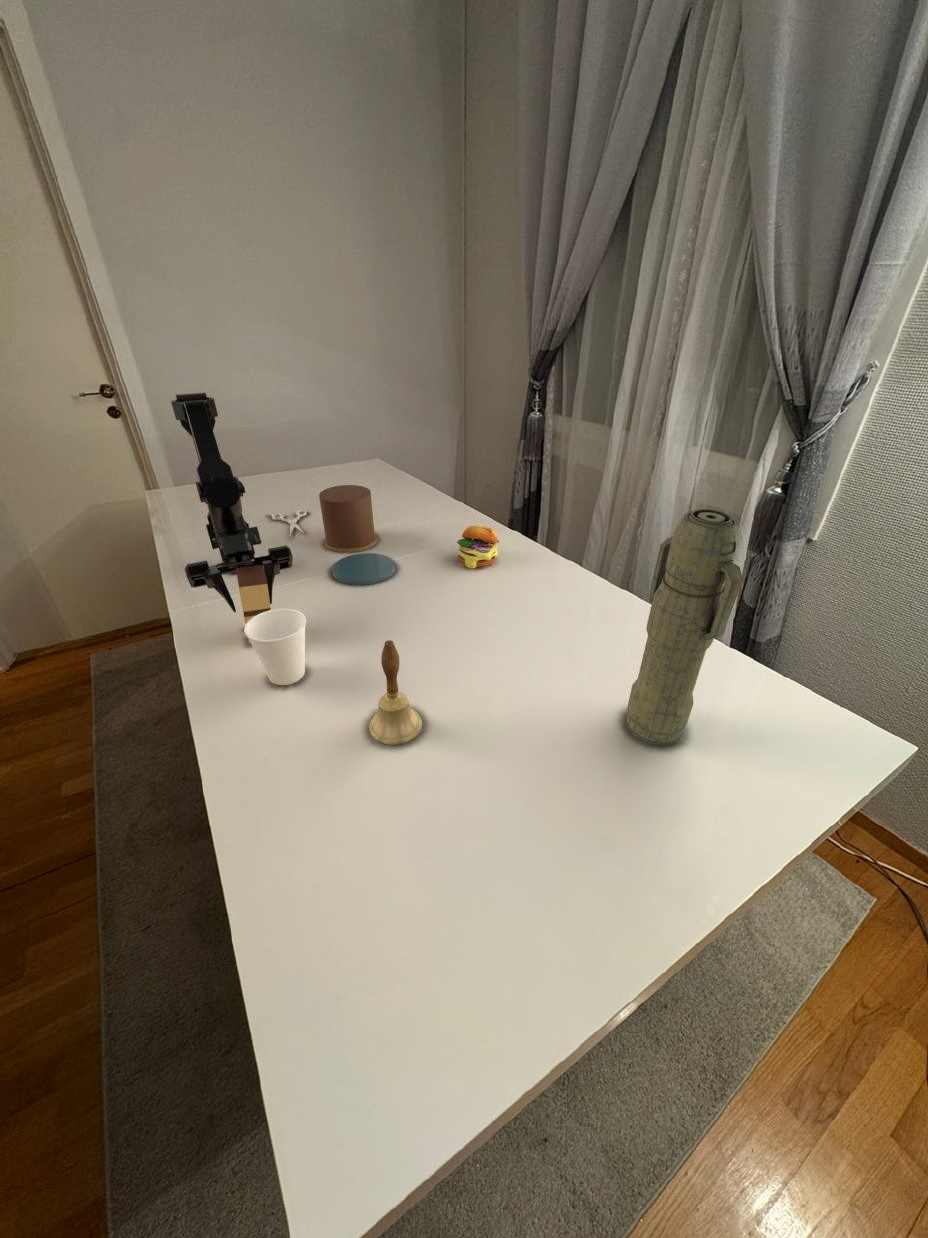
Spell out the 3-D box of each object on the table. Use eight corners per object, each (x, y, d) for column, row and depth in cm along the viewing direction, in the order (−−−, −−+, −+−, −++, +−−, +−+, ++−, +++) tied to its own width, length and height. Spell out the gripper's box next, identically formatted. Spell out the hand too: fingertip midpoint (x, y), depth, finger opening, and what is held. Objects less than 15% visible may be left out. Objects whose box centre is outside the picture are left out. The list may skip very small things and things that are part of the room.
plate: (319, 573, 125) (318, 569, 124) (364, 551, 135) (363, 547, 134) (364, 591, 117) (363, 587, 117) (407, 567, 128) (407, 563, 127)
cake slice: (245, 627, 104) (235, 567, 97) (270, 623, 106) (262, 564, 99) (248, 643, 100) (238, 582, 92) (275, 639, 102) (266, 579, 94)
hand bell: (374, 707, 85) (364, 626, 77) (424, 708, 85) (420, 627, 76) (364, 744, 78) (352, 660, 70) (419, 746, 78) (414, 662, 69)
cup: (263, 700, 86) (248, 647, 80) (253, 668, 94) (239, 616, 88) (322, 683, 90) (312, 631, 84) (308, 653, 98) (299, 603, 92)
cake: (313, 543, 139) (305, 495, 132) (351, 526, 148) (346, 480, 141) (350, 557, 132) (343, 506, 125) (387, 538, 142) (383, 491, 134)
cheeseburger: (449, 565, 128) (452, 525, 124) (465, 558, 137) (468, 520, 134) (488, 572, 125) (492, 531, 121) (501, 564, 134) (505, 525, 131)
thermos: (667, 762, 76) (736, 541, 57) (606, 715, 84) (648, 508, 65) (703, 737, 80) (779, 523, 61) (642, 695, 88) (692, 495, 69)
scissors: (304, 507, 159) (317, 531, 143) (305, 510, 159) (317, 533, 144) (268, 512, 155) (277, 537, 140) (269, 515, 156) (277, 540, 140)
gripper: (170, 523, 89) (192, 606, 87) (281, 505, 96) (304, 582, 94) (181, 548, 99) (201, 624, 97) (280, 530, 107) (302, 600, 104)
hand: (253, 607), depth 98 cm, fingers closed on cake slice, 6 cm apart
